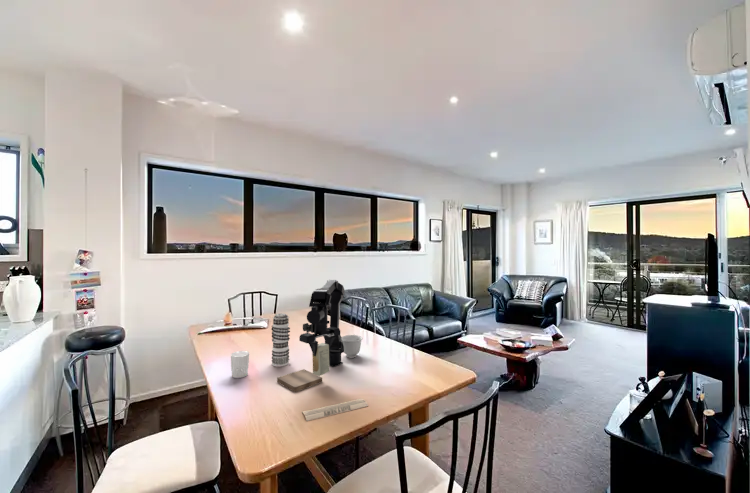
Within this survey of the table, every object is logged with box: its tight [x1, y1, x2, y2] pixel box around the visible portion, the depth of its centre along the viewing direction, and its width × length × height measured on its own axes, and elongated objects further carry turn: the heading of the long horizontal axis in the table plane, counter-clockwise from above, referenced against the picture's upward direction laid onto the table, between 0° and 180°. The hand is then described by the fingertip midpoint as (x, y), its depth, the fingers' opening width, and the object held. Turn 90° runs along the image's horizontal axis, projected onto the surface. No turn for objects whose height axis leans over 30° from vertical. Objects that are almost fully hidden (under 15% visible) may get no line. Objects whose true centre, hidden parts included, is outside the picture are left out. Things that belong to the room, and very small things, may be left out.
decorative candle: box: [270, 313, 291, 367], centre depth 165 cm, size 9×9×25 cm
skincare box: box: [312, 342, 331, 377], centre depth 141 cm, size 6×4×12 cm
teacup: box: [341, 334, 363, 359], centre depth 178 cm, size 12×15×10 cm
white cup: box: [230, 350, 250, 379], centre depth 149 cm, size 8×8×10 cm
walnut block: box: [276, 368, 323, 393], centre depth 142 cm, size 14×14×2 cm
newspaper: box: [301, 398, 369, 422], centre depth 118 cm, size 24×7×2 cm, turn 117°
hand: (320, 354), depth 141 cm, fingers closed on skincare box, 6 cm apart
